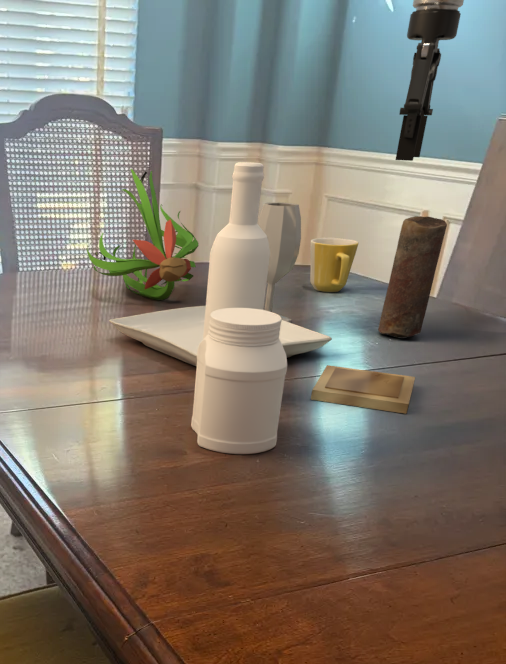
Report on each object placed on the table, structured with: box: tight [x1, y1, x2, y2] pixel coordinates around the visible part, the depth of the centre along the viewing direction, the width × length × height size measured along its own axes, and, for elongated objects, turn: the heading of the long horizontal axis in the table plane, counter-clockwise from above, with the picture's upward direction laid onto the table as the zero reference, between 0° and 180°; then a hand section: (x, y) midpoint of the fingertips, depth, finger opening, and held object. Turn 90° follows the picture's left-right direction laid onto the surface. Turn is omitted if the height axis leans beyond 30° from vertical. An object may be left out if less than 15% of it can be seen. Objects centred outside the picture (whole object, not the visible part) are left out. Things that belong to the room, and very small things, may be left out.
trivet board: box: [310, 364, 416, 415], centre depth 112 cm, size 13×13×2 cm
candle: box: [377, 215, 448, 339], centre depth 136 cm, size 8×7×20 cm
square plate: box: [108, 305, 333, 367], centre depth 131 cm, size 27×27×4 cm
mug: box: [309, 237, 359, 293], centre depth 170 cm, size 14×10×10 cm
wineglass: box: [257, 201, 302, 323], centre depth 142 cm, size 9×9×21 cm
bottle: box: [203, 161, 270, 339], centre depth 103 cm, size 8×8×30 cm
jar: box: [190, 308, 288, 455], centre depth 93 cm, size 12×10×15 cm
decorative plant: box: [86, 168, 199, 301], centre depth 160 cm, size 26×25×30 cm
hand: (407, 158), depth 133 cm, fingers open, 13 cm apart
